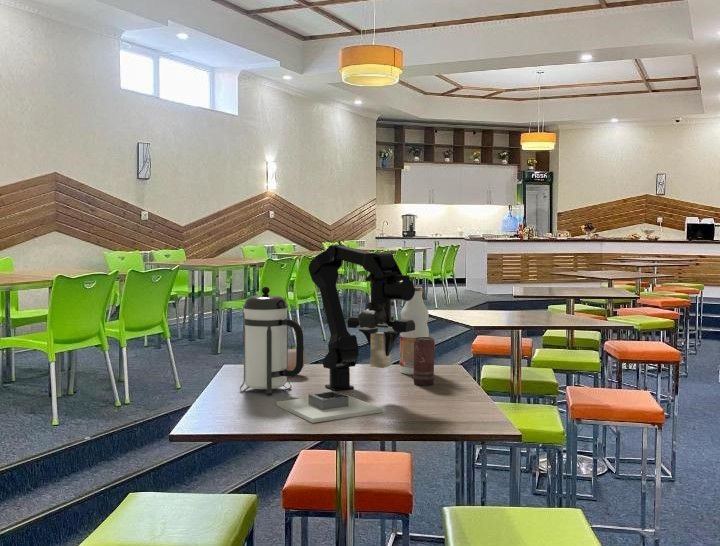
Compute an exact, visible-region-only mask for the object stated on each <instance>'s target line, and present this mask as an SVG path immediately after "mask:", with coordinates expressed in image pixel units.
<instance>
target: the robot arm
mask: <svg viewBox="0 0 720 546" xmlns="http://www.w3.org/2000/svg"><path fill="white" fill-rule="evenodd" d="M344 262H347V263H350V264H354V265H358V266H361V267H362V268H363V270H364V271H366V272H368V273H369V274H368V275H367V277H365V278H364V280H365V281H364V282H370V293H369V294H370V296H369V298H370V299H369V300H370V301H369V302H367V304H366V305H367V306H366V309H364V310H363V311H362V312H361V313H360V314H358V315H356V316H355V315H354V316H350V317H348V320H347V323H346V321H345V320H346V319H345V317H344V313H343V309H342V304H341V301H340V295H339V293H338V288H337V283H338V279H339V275H340V274H339V269H341V267H342V266H343V264H344ZM308 273H309V275H310V276H309V277H310V278H311V281H312V282H313V283H314V284H315V286H316V287H317V288H318V289H319V292H320V295H321V296H320V297H321V299H322V304H323V308H324V312H325V316H326V320H327V324H328V329H329V332H330V333H329V334H330V337H329V340H328V343H327V348H328V352H327V354H326V355H325V356H324V358H323V359H322V365H323V368H325V369H329V384H324V387H325V388H327V389H329V390H331V391H343V390H349V389H350V390H351V389H355V386H353V385H351V383H350V382H351V379H350V378H351V375H350V374H351V373H350V368H351V367H356V366H357V363H358V362H357V361H358V357H359V355H360V351H359V350H360V345H359V343H358V340H357V339H358V338H357V336H356V334H351V333H350V332H349V330H348V328H353V329H357V328H358V327H359V329H358V331H359V332H361V333H362V334H363V335H364V336H365V338H366V341H367V343H368V345H369V350H371V334H373V333H377V332H379V328H387V331H383V333H384V334H385V337H386V346H385V352H386V356H389V354H390V352H391V351H392V349H393V347H394V345H395V342H396V341H397V339H398V337H399V336H400V333H402V332H409V331H413V330H415V323H414V321H413V320H406V319H401V318H400V319H397V320H394V316H392V307H393V306H394V304H395V303H394V300H395V301H403V302H406V301H409V300H411V299H412V298H413V296H414V294H415V287H416V286H415V284H414V282H413V281H412V280H411V279H410V278H411V277H410V274H403V273H402V271H401V269H400V267H399V266H398V263H397V262H396V259H395V257H394V254H393V253H391V252H370V251H365V250H361V249H358V248H354V247H350V246H347V245H345V244H332V245H329V246H328V247H327V248H326V249H325V250H323V251H322V252H320V253H319V254H318V255H316V256H315V257H314V258H312V259H311V261H310V262H309V264H308Z"/></svg>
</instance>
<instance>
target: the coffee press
mask: <svg viewBox="0 0 720 546" xmlns="http://www.w3.org/2000/svg"><path fill="white" fill-rule="evenodd" d="M270 291H271V290H270V288H269V287H268V286H263V287H262V289H261V293H262V294H260V295H253V296H252V295H251V296H249V297H248V298H247V299H245V301H244V304H243V305H242V309H243V314H244V317H243V382H242V384H241V385H240V386H239V391H240V393H244V392H246V391H247V390H248V389H255V390H265V391H266V396H268V397H269V396H273V390H276V389H279V388H281V387H284V388H285V389H287V390H291V389H292V385H291V383H290V382H289V379H288V377H289V378H291V377H294V376H295V377H296V376H297V375H299V374H300V373H301V372H302V370H303V368H304V367H303V353H304V351H303V349H304V334H303V329H302V326H301V325H300V324H299V322H297V321H295V320H293V319H288V316H287V315H288V314H287V313H288V308H289V304H288V303H287V301H286V299H285V298H283V297H282V296H280V295H272V294H270ZM288 327H291V328H292V329H293V330H294V332H295V337H296V338H295V339H296V341H295V343H296V344H295V345H296V346H295V347H296V367H295V369H294V370H292V371H291V370H288V348H289V346H288V345H289V344H288V343H289V342H288V341H289V340H288V336H289V335H288ZM302 367H303V368H302ZM287 383H288V384H289V387H287V386H285V385H286V384H287ZM244 385H245V386H246V388H245V389H242V388H243V386H244ZM241 389H242V390H241Z"/></svg>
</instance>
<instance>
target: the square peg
mask: <svg viewBox="0 0 720 546" xmlns="http://www.w3.org/2000/svg"><path fill="white" fill-rule="evenodd" d="M385 346H386V337H385V334H384V332H382V331H381V332H379V331H378V332H377V333H373V334H371V349H370V367H372V368H380V369H384V368H385V369H386V368H388V367H391V354H392V353H391V352H390V354H389V356H386V352H385Z"/></svg>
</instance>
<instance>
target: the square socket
mask: <svg viewBox="0 0 720 546" xmlns="http://www.w3.org/2000/svg"><path fill="white" fill-rule="evenodd" d="M343 394H344V393H343ZM343 394H340V392H339V391H336V390H331V391H330V390H329V391H324V392H323V391H321V392H315V393H308V396H307V398H308V404H310V405H312V406H315V407H317V408H319V409H322V410H326V409H333V408H340V407H347V406H349V397H348V396H349V395H348V396H346V395H347V394H346V395H343Z"/></svg>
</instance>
